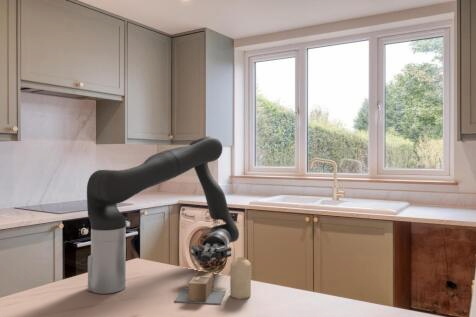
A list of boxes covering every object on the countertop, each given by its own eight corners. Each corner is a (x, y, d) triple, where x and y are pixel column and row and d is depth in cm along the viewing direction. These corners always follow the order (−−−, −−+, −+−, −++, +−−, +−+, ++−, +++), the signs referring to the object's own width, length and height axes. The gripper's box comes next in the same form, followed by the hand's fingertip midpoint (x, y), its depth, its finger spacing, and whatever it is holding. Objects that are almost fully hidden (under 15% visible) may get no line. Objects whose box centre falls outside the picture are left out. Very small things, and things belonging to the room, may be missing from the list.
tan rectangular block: (197, 286, 109) (188, 300, 99) (197, 270, 109) (188, 282, 99) (213, 287, 108) (205, 301, 98) (213, 271, 108) (206, 283, 98)
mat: (174, 302, 99) (174, 300, 99) (183, 289, 108) (183, 288, 108) (220, 304, 97) (220, 303, 97) (225, 291, 106) (225, 290, 106)
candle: (248, 299, 100) (249, 261, 100) (228, 298, 102) (228, 260, 101) (252, 292, 106) (252, 256, 106) (232, 290, 107) (232, 255, 107)
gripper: (196, 232, 126) (182, 245, 108) (236, 233, 124) (228, 246, 107) (196, 255, 126) (182, 271, 109) (236, 256, 124) (228, 273, 107)
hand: (205, 259), depth 108 cm, fingers closed
